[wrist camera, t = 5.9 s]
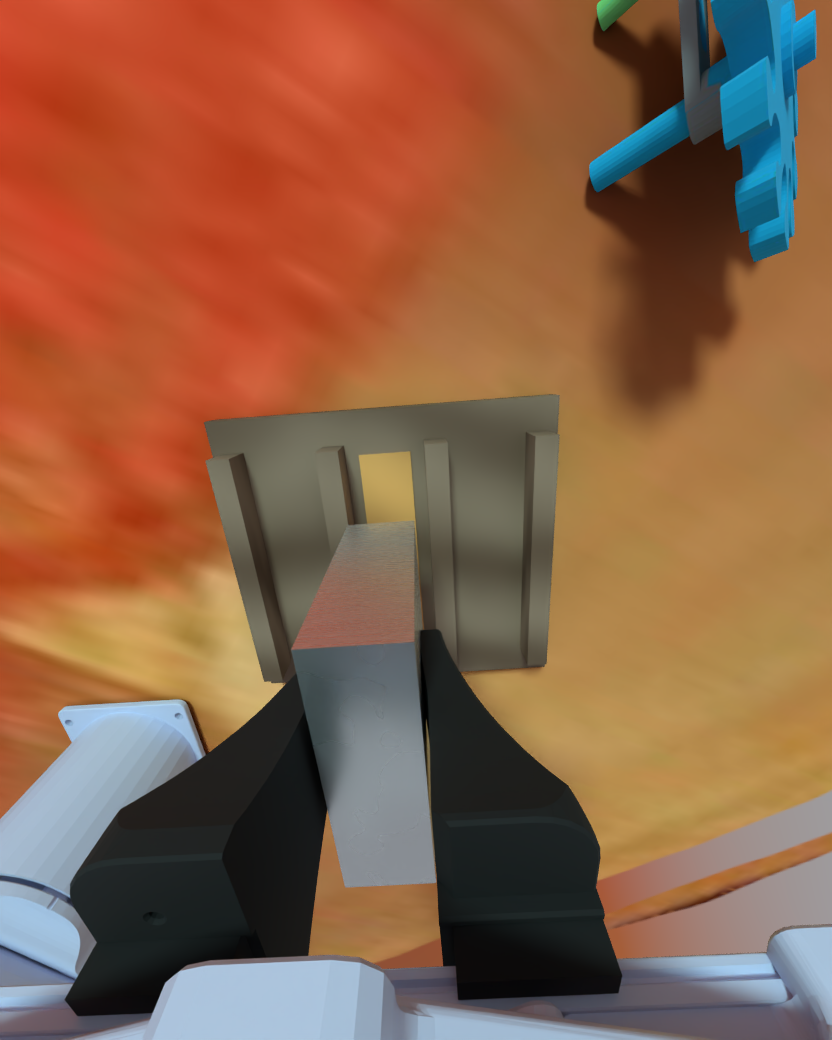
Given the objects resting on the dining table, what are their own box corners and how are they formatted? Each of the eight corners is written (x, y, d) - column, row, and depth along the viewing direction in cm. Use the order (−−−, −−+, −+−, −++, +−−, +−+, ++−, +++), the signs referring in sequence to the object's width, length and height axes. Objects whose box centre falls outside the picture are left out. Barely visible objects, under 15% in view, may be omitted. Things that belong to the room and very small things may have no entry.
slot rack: (539, 654, 23) (556, 693, 20) (277, 671, 23) (258, 711, 21) (551, 394, 18) (577, 397, 15) (214, 419, 18) (178, 427, 15)
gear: (820, 259, 15) (806, 196, 8) (647, 318, 19) (551, 307, 13) (821, -114, 12) (803, -599, 6) (625, 50, 17) (493, -128, 10)
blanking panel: (427, 688, 17) (436, 882, 10) (371, 691, 17) (345, 887, 10) (414, 520, 14) (414, 641, 8) (347, 525, 14) (291, 649, 8)
